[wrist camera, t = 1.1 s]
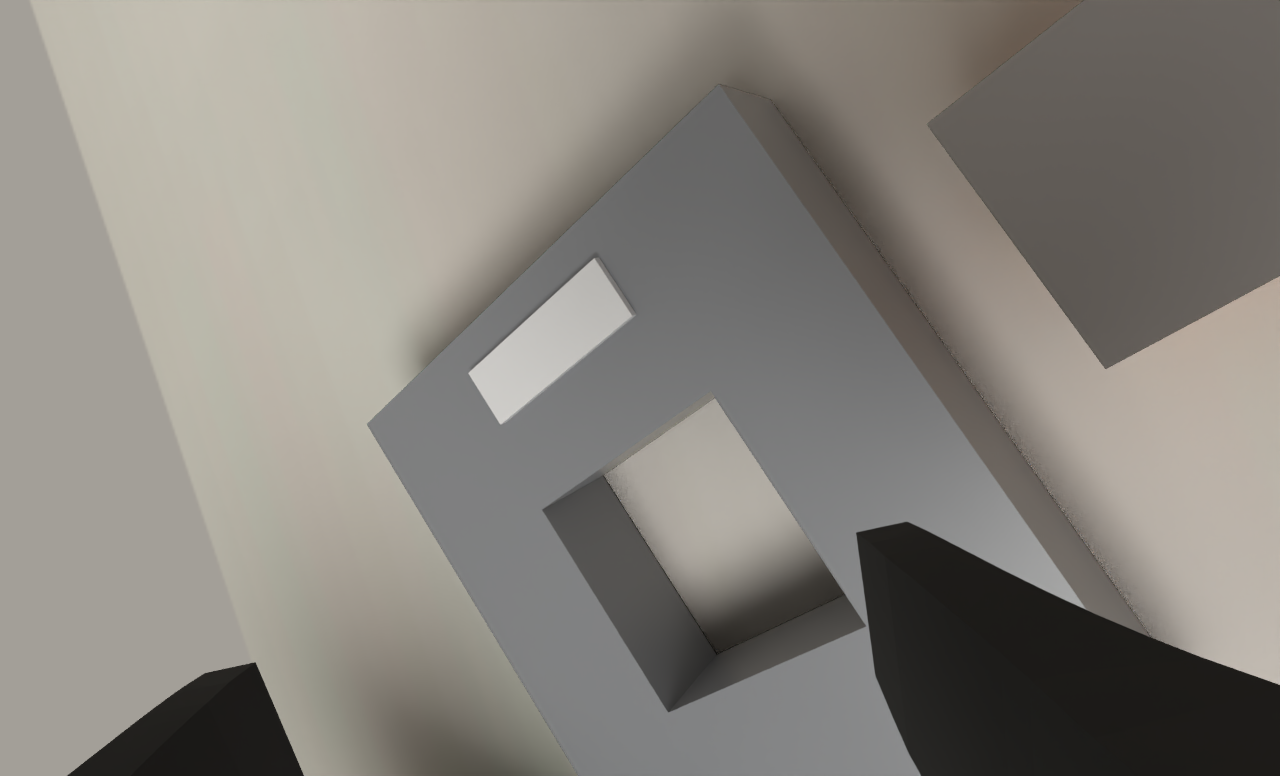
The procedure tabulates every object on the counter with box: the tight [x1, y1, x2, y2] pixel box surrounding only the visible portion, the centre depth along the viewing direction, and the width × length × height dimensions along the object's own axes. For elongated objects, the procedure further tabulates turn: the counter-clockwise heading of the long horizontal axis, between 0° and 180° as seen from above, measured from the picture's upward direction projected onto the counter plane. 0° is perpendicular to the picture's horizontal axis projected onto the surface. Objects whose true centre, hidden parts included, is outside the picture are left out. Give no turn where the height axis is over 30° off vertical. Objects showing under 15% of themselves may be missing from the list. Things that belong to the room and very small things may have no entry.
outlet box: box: [367, 84, 1150, 776], centre depth 20 cm, size 14×16×3 cm
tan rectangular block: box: [927, 0, 1280, 369], centre depth 13 cm, size 4×4×7 cm
